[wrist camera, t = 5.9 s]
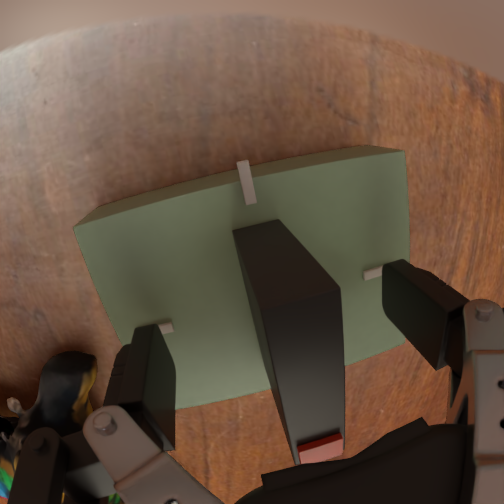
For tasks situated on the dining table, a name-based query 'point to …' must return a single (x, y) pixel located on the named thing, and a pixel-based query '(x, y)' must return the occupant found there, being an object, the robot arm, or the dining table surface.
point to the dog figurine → (50, 410)
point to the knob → (297, 337)
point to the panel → (227, 263)
